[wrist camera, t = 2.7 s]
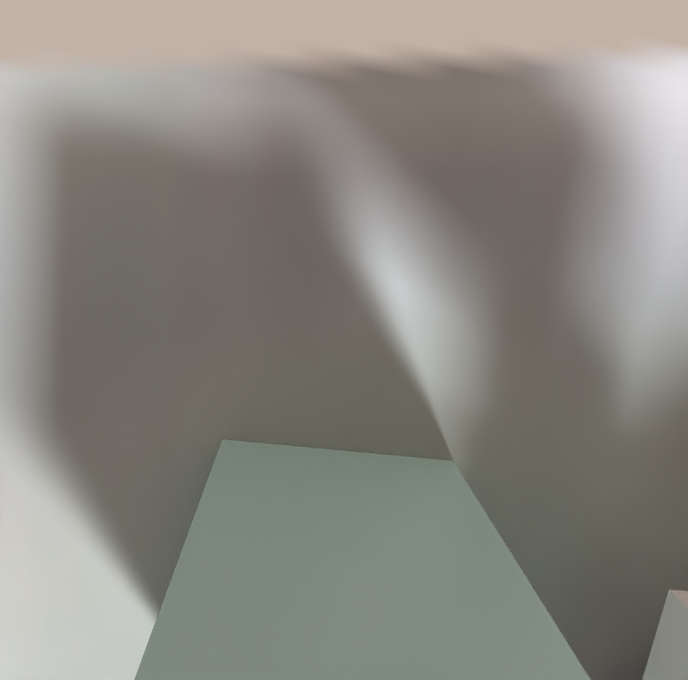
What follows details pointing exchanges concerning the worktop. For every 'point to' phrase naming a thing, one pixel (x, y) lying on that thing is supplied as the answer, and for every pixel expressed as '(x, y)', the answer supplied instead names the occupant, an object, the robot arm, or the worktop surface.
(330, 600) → the block
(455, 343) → the worktop surface
